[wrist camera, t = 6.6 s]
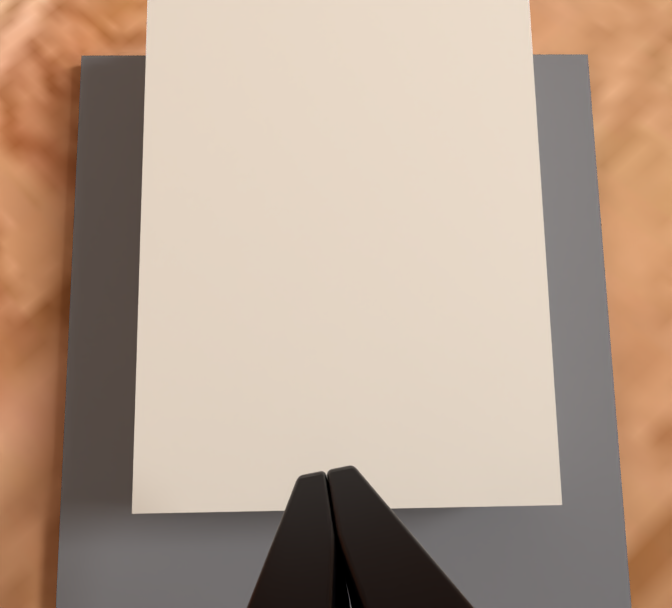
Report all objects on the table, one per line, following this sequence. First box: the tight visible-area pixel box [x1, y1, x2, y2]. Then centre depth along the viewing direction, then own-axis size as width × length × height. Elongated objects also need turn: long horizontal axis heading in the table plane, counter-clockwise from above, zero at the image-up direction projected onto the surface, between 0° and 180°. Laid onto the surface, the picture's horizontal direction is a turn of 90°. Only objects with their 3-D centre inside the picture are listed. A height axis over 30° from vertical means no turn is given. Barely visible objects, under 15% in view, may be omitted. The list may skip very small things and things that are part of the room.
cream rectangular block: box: [132, 0, 562, 514], centre depth 15 cm, size 2×9×12 cm
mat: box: [56, 55, 631, 608], centre depth 16 cm, size 20×14×1 cm
